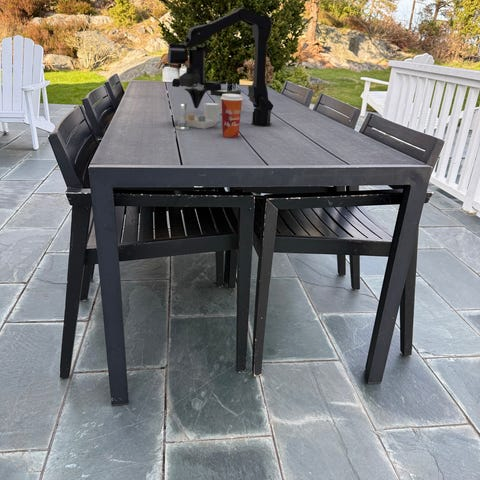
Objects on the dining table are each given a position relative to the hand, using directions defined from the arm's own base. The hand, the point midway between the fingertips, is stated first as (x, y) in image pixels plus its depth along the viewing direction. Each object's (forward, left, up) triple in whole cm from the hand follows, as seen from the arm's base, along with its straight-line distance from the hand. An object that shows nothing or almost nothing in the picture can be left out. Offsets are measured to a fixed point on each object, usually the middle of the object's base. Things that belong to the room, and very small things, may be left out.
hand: (196, 108), depth 168 cm
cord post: (0, +9, -6) cm, 11 cm away
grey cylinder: (0, -12, -7) cm, 13 cm away
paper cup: (-20, +8, -7) cm, 23 cm away
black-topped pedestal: (+6, -36, -7) cm, 37 cm away
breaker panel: (0, 0, -6) cm, 7 cm away
